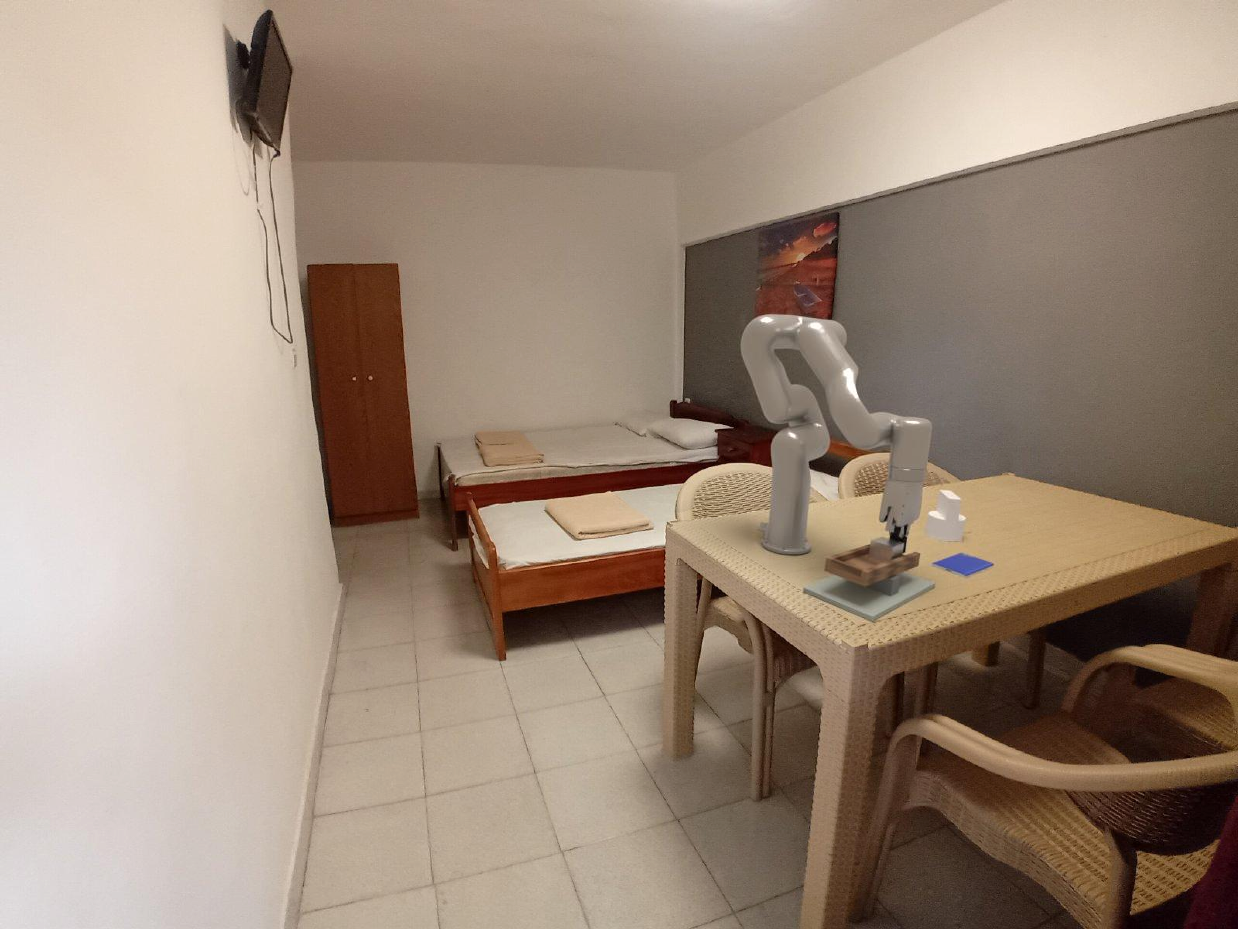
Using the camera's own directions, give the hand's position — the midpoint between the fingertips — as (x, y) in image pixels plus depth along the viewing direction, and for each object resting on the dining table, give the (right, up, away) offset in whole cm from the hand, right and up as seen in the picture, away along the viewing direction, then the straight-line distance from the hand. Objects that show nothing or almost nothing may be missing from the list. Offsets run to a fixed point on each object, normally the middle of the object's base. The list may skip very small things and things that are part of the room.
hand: (896, 551), depth 134 cm
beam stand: (-8, -8, -4) cm, 12 cm away
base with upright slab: (+27, 0, +29) cm, 40 cm away
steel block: (-4, -1, -3) cm, 5 cm away
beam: (-8, -3, -5) cm, 10 cm away
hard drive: (+20, -6, +9) cm, 23 cm away
